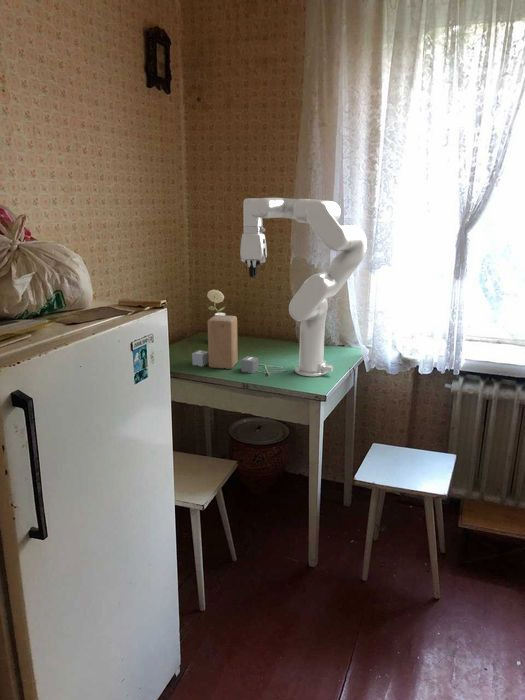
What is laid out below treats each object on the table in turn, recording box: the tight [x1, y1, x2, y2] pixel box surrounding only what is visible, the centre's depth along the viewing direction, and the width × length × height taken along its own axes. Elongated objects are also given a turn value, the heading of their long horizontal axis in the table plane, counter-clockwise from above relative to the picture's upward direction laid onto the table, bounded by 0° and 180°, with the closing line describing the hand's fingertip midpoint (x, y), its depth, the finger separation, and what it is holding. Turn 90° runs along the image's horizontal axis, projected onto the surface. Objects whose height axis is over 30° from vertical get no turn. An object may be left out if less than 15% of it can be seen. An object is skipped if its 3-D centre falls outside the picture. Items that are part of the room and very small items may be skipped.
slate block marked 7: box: [191, 349, 209, 367], centre depth 215 cm, size 5×5×5 cm
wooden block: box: [207, 314, 239, 370], centre depth 211 cm, size 10×10×20 cm
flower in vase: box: [206, 289, 226, 315], centre depth 244 cm, size 13×11×25 cm
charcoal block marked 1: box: [240, 355, 260, 374], centre depth 207 cm, size 5×5×5 cm
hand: (253, 276), depth 212 cm, fingers closed
